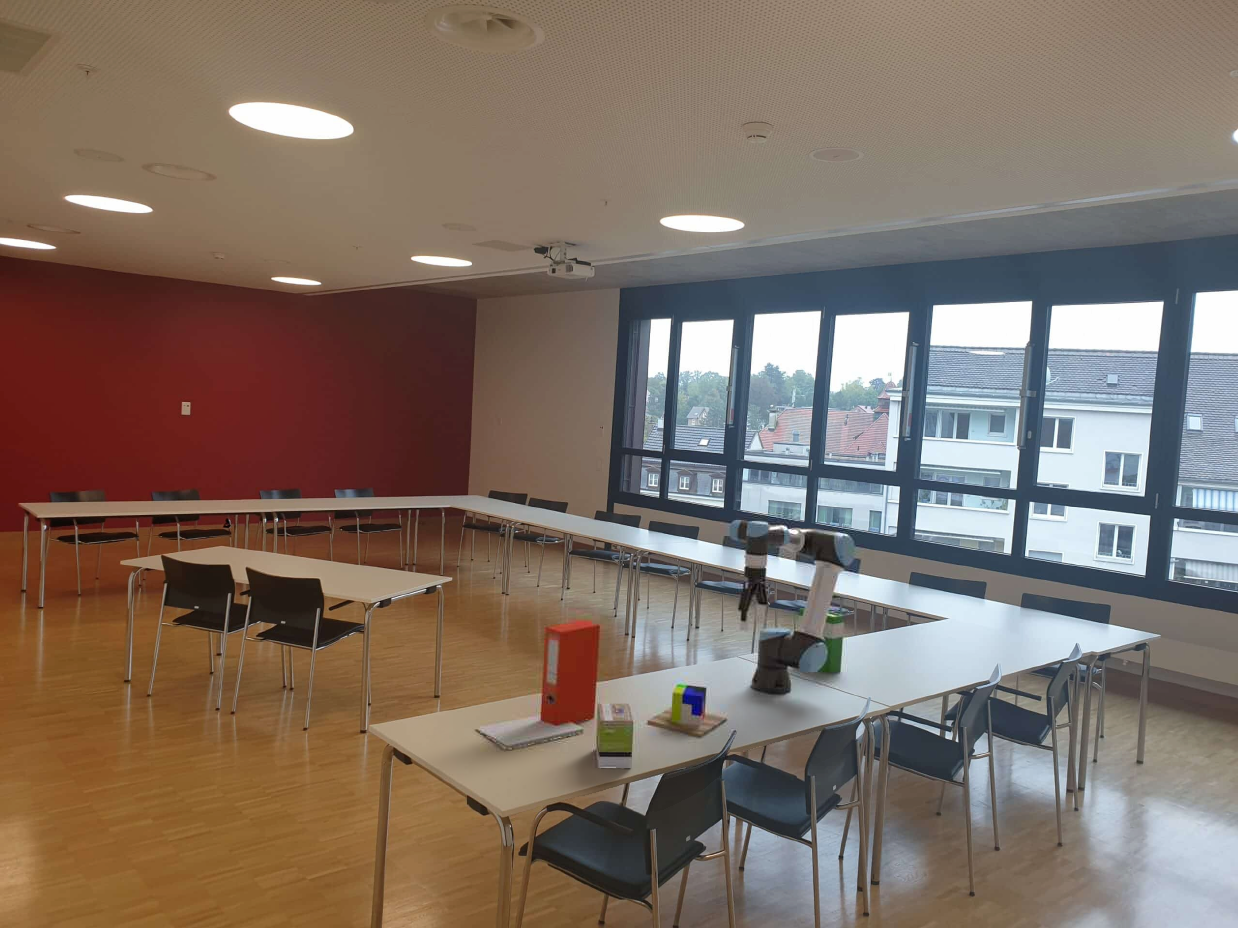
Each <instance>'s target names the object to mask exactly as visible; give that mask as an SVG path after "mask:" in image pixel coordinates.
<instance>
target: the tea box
mask: <svg viewBox="0 0 1238 928" xmlns="http://www.w3.org/2000/svg"><path fill="white" fill-rule="evenodd" d="M596 711H597V713H596V714H597V715H596V737H595V738H596V741H595V743H596V744H595V748H596V749H595V750H596V758H597V767H598V768H599V767H616V768H631V769H632V765H633V764H632V762H633V761H632V760H633V756H632V755H633V741H634V740H633V739H634V719H633V716H632V712H631V707H630V705H629V703H599V702H598V703H597V710H596Z"/></svg>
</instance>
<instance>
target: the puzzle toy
mask: <svg viewBox="0 0 1238 928" xmlns="http://www.w3.org/2000/svg"><path fill="white" fill-rule="evenodd" d="M706 699H707V687H704V686H695V685H690V684H689V685H688V684H681V683H677V684H676V686H675V687H674V690H673V691H672V697H671V700H672V701H671V707H672V712H671V722H675V723H683V724H690V725H697V726H701V724H702V721H703V719H704V717H705V712H706V702H707V701H706Z"/></svg>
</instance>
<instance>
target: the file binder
mask: <svg viewBox="0 0 1238 928" xmlns="http://www.w3.org/2000/svg"><path fill="white" fill-rule="evenodd" d="M600 628H601V624H598V623H595V622H593V621H588V620H585V619H583V620H578V621H571V622H567V623H562V624H556V625H549V626H546V627H545V634H544V651H543V652H544V653H543V668H542V669H543V670H542V686H541V703H540V704H541V705H540V715H541V719H540V720H541V721H544V722H547V723H549V724H552V725H555V726H557V725H561V724H565V723H568V722H572V723H575V724H577V723H576V722H578V723H580V721H582V722H584V721H583V720H585V721H587V720H586V719H588V720H591V719H590V718H592V719H594V718H595V713H596V699H597V698H596V696H597V681H598V680H597V678H598V663H599V661H598V660H599V647H600V645H599V644H600V633H601V629H600Z"/></svg>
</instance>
